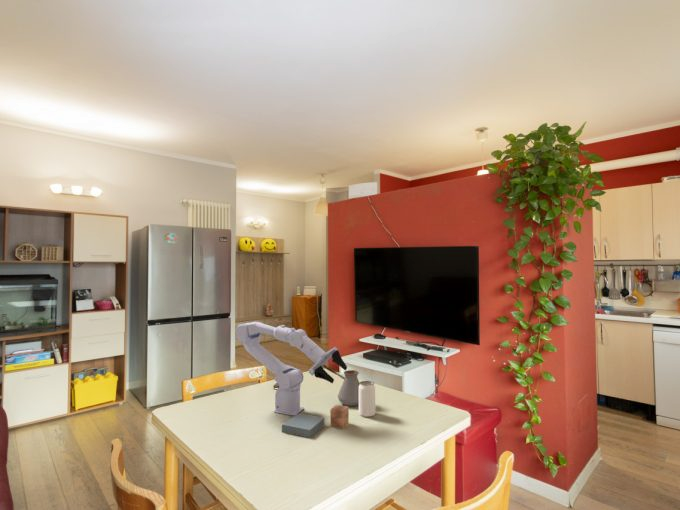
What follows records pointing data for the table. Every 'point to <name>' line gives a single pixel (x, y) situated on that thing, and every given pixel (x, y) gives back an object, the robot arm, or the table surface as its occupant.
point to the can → (367, 399)
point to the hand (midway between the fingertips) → (339, 374)
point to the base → (303, 425)
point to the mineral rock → (276, 385)
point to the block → (339, 416)
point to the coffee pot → (348, 387)
